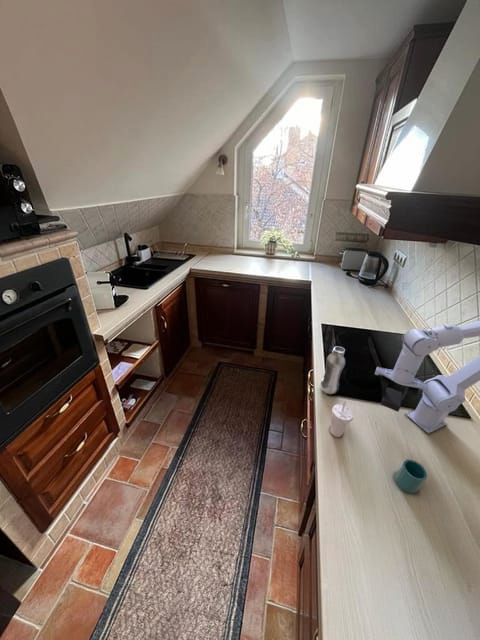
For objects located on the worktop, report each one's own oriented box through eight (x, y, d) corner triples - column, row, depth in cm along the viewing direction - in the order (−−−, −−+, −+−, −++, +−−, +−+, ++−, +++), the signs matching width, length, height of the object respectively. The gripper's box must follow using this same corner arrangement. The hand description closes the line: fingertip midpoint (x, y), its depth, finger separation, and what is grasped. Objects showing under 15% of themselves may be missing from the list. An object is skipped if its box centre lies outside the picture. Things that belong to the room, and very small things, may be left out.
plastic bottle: (337, 398, 96) (349, 356, 86) (318, 393, 98) (329, 352, 88) (337, 386, 101) (349, 346, 91) (319, 382, 103) (329, 342, 93)
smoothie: (342, 423, 86) (352, 394, 79) (349, 440, 81) (361, 410, 74) (323, 423, 86) (332, 394, 79) (330, 441, 80) (339, 410, 73)
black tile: (384, 390, 88) (385, 386, 87) (400, 397, 86) (402, 392, 85) (380, 404, 83) (383, 400, 82) (398, 411, 81) (400, 407, 79)
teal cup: (404, 470, 73) (412, 456, 70) (422, 488, 69) (431, 475, 65) (390, 477, 71) (398, 464, 68) (408, 497, 67) (417, 483, 64)
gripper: (435, 368, 77) (418, 399, 83) (382, 351, 83) (370, 382, 90) (435, 381, 71) (417, 414, 78) (379, 362, 78) (367, 394, 85)
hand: (392, 398), depth 84 cm, fingers closed on black tile, 5 cm apart
